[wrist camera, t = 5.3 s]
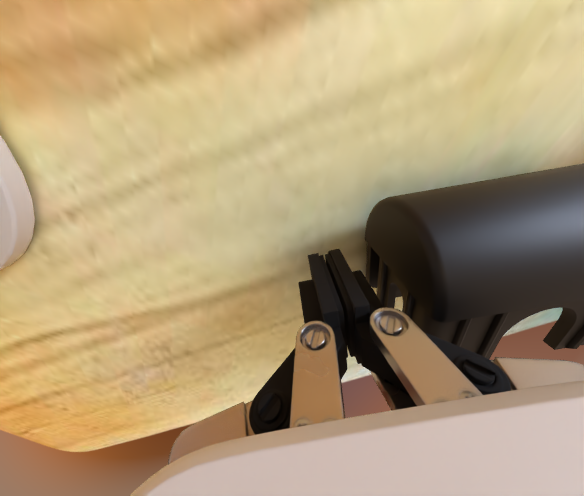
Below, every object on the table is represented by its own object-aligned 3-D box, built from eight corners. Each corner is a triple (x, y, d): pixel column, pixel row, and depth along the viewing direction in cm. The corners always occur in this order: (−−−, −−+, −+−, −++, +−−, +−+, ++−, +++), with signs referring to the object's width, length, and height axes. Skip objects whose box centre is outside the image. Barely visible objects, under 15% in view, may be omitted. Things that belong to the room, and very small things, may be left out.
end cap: (548, 147, 11) (881, 167, 5) (500, 259, 14) (659, 349, 8) (359, 180, 11) (462, 238, 5) (358, 284, 14) (416, 389, 8)
